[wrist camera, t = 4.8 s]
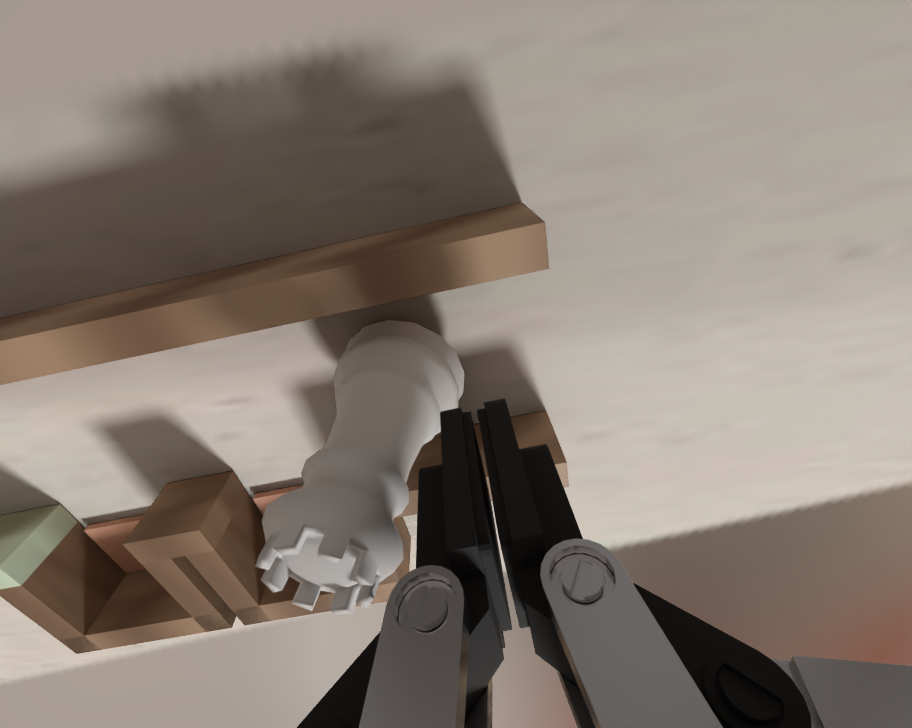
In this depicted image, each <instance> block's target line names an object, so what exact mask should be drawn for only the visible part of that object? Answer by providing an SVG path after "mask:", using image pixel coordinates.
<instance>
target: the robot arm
mask: <svg viewBox="0 0 912 728" xmlns="http://www.w3.org/2000/svg"><path fill="white" fill-rule="evenodd" d="M484 405H485V408H484V409H479V410H477V414H478V419H479V425H480V431H481V437H482V443H483V448H484V454H485V460H486V466H487V472H488V477H489V483H490V489H491V495H492V501H493V506H494V512H495V518H496V524H497V529H498V535H499V540H500V545H501V549H502V554H503V558H504V562H505V566H506V571H507V575H508V579H509V583H510V587H511V592H512V596H513V600H514V605H515V609H516V613H517V617H518V621H519V626H520V628H524V627H530V629H531V634H532V639H533V643H534V648H535V653H536V654H537V655H538V656H540V657H541V658H542V659H544V660H545V661H546V662H547V663H549V664H550V665H551V666H553V667H554V668H555V669H556V670H557V674H558V677H559V679H560V682H561V685H562V687H563V690H564V693H565V695H566V698H567V701H568V704H569V706H570V709H571V711H572V714H573V717H574V720H575V722H576V725H577V727H578V728H912V666H905V665H893V664H882V663H871V662H860V661H848V660H837V659H825V658H814V657H803V656H792V658H791V660H790V661H786V660H776V659H769V658H768V657H766V656H765V655H764V654H762V653H761V652H759V651H757V650H756V649H754V648H752V647H750V646H748V645H746V644H744V643H743V642H741V641H739V640H737V639H735V638H733V637H732V636H730V635H728V634H726V633H724V632H722V631H721V630H718V629H717V628H715V627H713V626H711V625H709V624H708V623H706V622H704V621H702V620H700V619H699V618H697V617H695V616H693V615H691V614H689V613H688V612H686V611H684V610H682V609H680V608H678V607H676V606H675V605H673V604H671V603H669V602H667V601H666V600H664V599H662V598H660V597H658V596H656V595H654V594H653V593H651V592H649V591H647V590H645V589H643V588H642V587H640V586H638V585H636V584H634V583H632V581H631V579H630V578H629V576H628V575H627V573H626V571H625V570H624V568H623V567H622V565H621V563H620V562H619V561H618V559H617V558H616V557H615V556H614V555H613V553H612V552H611V551H609V550H608V549H607V548H605V547H604V546H602V545H601V544H599V543H596V542H593V541H590V540H586V539H583V538H582V535H581V533H580V530H579V527H578V525H577V522H576V519H575V517H574V514H573V511H572V509H571V506H570V503H569V501H568V498H567V495H566V493H565V490H564V487H563V485H562V482H561V479H560V477H559V474H558V471H557V469H556V466H555V463H554V461H553V458H552V455H551V453H550V450H549V448H548V446H547V444H543V445H538V446H532V447H527V448H522V449H519V446H518V443H517V439H516V436H515V432H514V429H513V425H512V422H511V418H510V415H509V411H508V408H507V404H506V401H505V399H500V400H495V401H490V402H485V403H484ZM440 425H441V448H442V464H440V465H435V466H430V467H425V468H420V470H419V477H418V515H417V552H416V569H414V570H412V571H410V572H408V573H407V574H406V575H405V576H404V577H403V578H401V579H400V580H399V581H398V583H397V584H396V585H395V587H394V588H393V590H392V591H391V594H390V596H389V599H388V602H387V605H386V610H385V614H384V618H383V623H382V628H381V631H380V633H379V634H378V635H377V636H376V637H375V638H374V639H373V641H372V642H371V643H370V644H369V645H368V646H367V648H366V649H365V650H364V651H363V652H362V653H361V654H360V656H359V657H358V658H357V659H356V660H355V661H354V662H353V664H352V665H351V666H350V667H349V668H348V669H347V670H346V672H345V673H344V674H343V675H342V676H341V677H340V679H339V680H338V681H337V682H336V683H335V684H334V685H333V687H332V688H331V689H330V690H329V691H328V692H327V693H326V695H325V696H324V697H323V698H322V699H321V700H320V702H319V703H318V704H317V705H316V706H315V707H314V708H313V710H312V711H311V712H310V713H309V714H308V715H307V717H306V718H305V719H304V720H303V721H302V722H301V723H300V724H299V726H298V727H297V728H492V707H493V706H492V705H493V704H492V703H493V698H492V697H493V684H492V677H493V675H494V673H495V672H496V670H497V669H498V667H499V666H500V664H501V663H502V661H503V660H504V656H503V649H502V648H505V642H504V636H503V631H507V630H512V626H511V619H510V613H509V607H508V602H507V595H506V589H505V583H504V577H503V571H502V565H501V559H500V553H499V547H498V541H497V535H496V529H495V523H494V517H493V511H492V506H491V500H490V494H489V489H488V484H487V480H486V476H485V471H484V467H483V463H482V459H481V454H480V450H479V446H478V441H477V437H476V433H475V428H474V424H473V420H472V416H471V412H470V411H469V412H464V413H463V412H462V408H461V407H460V408H455V409H450V410H445V411H441V412H440Z"/></svg>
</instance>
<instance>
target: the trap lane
mask: <svg viewBox="0 0 912 728" xmlns="http://www.w3.org/2000/svg"><path fill="white" fill-rule="evenodd" d="M545 269H549V261H548V250H547V239H546V228H545V222H544V221H543V220H542V219H541V218H540V217H538V216H537V215H536V214H535V213H534V212H533V211H531V210H530V209H529V208H528V207H527V206H526V205H525V204H523V203H518V204H513V205H509V206H504V207H500V208H495V209H491V210H486V211H482V212H477V213H473V214H468V215H464V216H459V217H455V218H450V219H445V220H441V221H436V222H432V223H427V224H423V225H418V226H414V227H409V228H405V229H400V230H396V231H391V232H387V233H382V234H378V235H373V236H369V237H364V238H360V239H355V240H351V241H346V242H342V243H337V244H333V245H328V246H324V247H319V248H315V249H310V250H306V251H301V252H297V253H292V254H288V255H283V256H279V257H274V258H270V259H265V260H261V261H256V262H252V263H247V264H243V265H238V266H234V267H229V268H225V269H220V270H216V271H211V272H207V273H202V274H198V275H193V276H189V277H184V278H180V279H175V280H171V281H166V282H162V283H157V284H153V285H148V286H144V287H139V288H135V289H130V290H126V291H121V292H117V293H112V294H107V295H103V296H98V297H94V298H89V299H85V300H80V301H76V302H71V303H67V304H62V305H58V306H53V307H49V308H44V309H40V310H35V311H31V312H26V313H22V314H17V315H13V316H8V317H4V318H0V385H3V384H7V383H12V382H17V381H21V380H26V379H31V378H36V377H40V376H45V375H50V374H54V373H59V372H64V371H69V370H73V369H78V368H83V367H87V366H92V365H97V364H102V363H106V362H111V361H116V360H121V359H125V358H130V357H135V356H139V355H144V354H149V353H154V352H158V351H163V350H168V349H172V348H177V347H182V346H187V345H191V344H196V343H201V342H205V341H210V340H215V339H220V338H224V337H229V336H234V335H239V334H243V333H248V332H253V331H257V330H262V329H267V328H272V327H276V326H281V325H286V324H290V323H295V322H300V321H305V320H309V319H314V318H319V317H323V316H328V315H333V314H338V313H342V312H347V311H352V310H356V309H361V308H366V307H371V306H375V305H380V304H385V303H390V302H394V301H399V300H404V299H408V298H413V297H418V296H423V295H427V294H432V293H437V292H441V291H446V290H451V289H456V288H460V287H465V286H470V285H474V284H479V283H484V282H489V281H493V280H498V279H503V278H508V277H512V276H517V275H522V274H526V273H531V272H536V271H541V270H545ZM510 418H511V422H512V425H513V429H514V432H515V436H516V439H517V443H518V446H519V449H522V448H527V447H532V446H538V445H543V444H547V446H548V448H549V450H550V453H551V455H552V458H553V461H554V463H555V466H556V469H557V471H558V474H559V477H560V479H561V482H562V485H563V487H569V482H568V471H567V462H566V459H565V457H564V454H563V452H562V449H561V447H560V444H559V442H558V439H557V437H556V434H555V432H554V429H553V427H552V424H551V422H550V419H549V417H548V414H547V412H546V411H541V412H536V413H531V414H526V415H521V416H515V417H510ZM474 428H475V433H476V437H477V441H478V446H479V450H480V454H481V459H482V463H483V467H484V471H485V476H486V480H487V484H488V489H489V494H490V500H492V495H491V489H490V483H489V477H488V472H487V466H486V460H485V454H484V448H483V443H482V437H481V431H480V425H479V424H474ZM440 464H442V448H441V432H440V433H438V434H436V435H435V436H434V437H433V439H432V440H431V441H429V442H427V443H426V444H424V445H423V446H422V447H421V449H420V451H419V453H418V455H417V457H416V459H415V461H414V463H413V465H412V467H411V469H410V472H409V476H408V479H407V482H406V484H407V486H408V488H409V503H408V504H407V506H406V508H405V509H404V511H403V512H402V514H400V515H398V516H396V517H394V520H393V522H394V524H395V527H396V529H397V531H398V533H399V535H400V538H401V540H402V542H403V561H402V562H401V563H400V565H399V566H398V567H397V569H396V570H395V571H394V573H392V574H391V575H390V576H388V577H387V578H385V579H384V580H383V581H381V582H380V583H379V584H378V588H377V591H376V595H375V598H374V600H373V601H372V602H371V604H373V603H379V602H385V601H388V599H389V596H390V594H391V591H392V590H393V588H394V587H395V585H396V584H397V583H398V581H399V580H400V579H401V578H403V577H404V576H405V575H406V574H407V573H408V572H409V564H410V544H411V537H410V534H409V532H408V529H407V527H406V524H405V522H404V519H403V516H408V515H414V514H418V477H419V470H420V468H425V467H430V466H435V465H440ZM302 486H303V485H298V486H293V487H288V488H283V489H277V490H272V491H267V492H261V493H256V494H255V495H254V497H253V500H254V502H255V503H256V505H257V506H258V508H259V509H260V511H261V512H262V514H263V515H264V513H265V510H266V506H267V505H268V504H270V503H271V502H273V501H274V500H276V499H277V498H279V497H280V496H282V495H283V494H286V493H288V492H291V491H293V490H296V489H298V488H301V487H302ZM253 500H252V499H251V497H250V496H249V494H248V493H247V491H246V490H245V488H244V487H243V485H242V484H241V482H240V481H239V479H238V478H237V476H236V474H235V473H234V471H229V472H224V473H219V474H214V475H209V476H203V477H198V478H193V479H188V480H183V481H177V482H172V483H167V484H166V486H165V487H164V488H163V490H162V491H161V493H160V494H159V495H158V497H157V498H156V499H155V501H154V502H153V503H152V505H151V506H150V507H149V509H148V510H147V512H146V513H145V514H144V515H139V516H134V517H128V518H123V519H118V520H113V521H107V522H102V523H97V524H91V525H88V526H87V527H86V528H84V527H83V526H82V525H81V524H80V523H79V522H78V521H77V520H76V519H75V518H74V517H73V516H72V515H71V514H70V513H69V512H68V511H67V510H66V509H65V508H64V507H63V506H62V505H61V504H58V505H52V506H47V507H42V508H37V509H32V510H26V511H21V512H16V513H11V514H6V515H0V596H1V597H2V598H3V599H5V600H6V601H7V602H9V603H10V604H11V605H13V606H14V607H15V608H17V609H18V610H19V611H21V612H22V613H23V614H25V615H26V616H27V617H29V618H30V619H31V620H33V621H34V622H35V623H37V624H38V625H39V626H41V627H42V628H43V629H45V630H46V631H47V632H49V633H50V634H51V635H53V636H54V637H55V638H57V639H58V640H59V641H60V642H62V643H63V644H64V645H66V646H67V647H68V648H70V649H71V650H72V651H74V652H75V653H76V654H78V653H84V652H90V651H96V650H102V649H108V648H114V647H120V646H126V645H132V644H137V643H143V642H149V641H155V640H161V639H167V638H173V637H179V636H185V635H191V634H196V633H202V632H208V631H214V630H220V629H226V628H232V626H233V623H234V621H235V618H236V616H237V617H238V618H239V619H240V620H241V622H242V623H243V624H244V625H250V624H255V623H261V622H267V621H273V620H279V619H285V618H291V617H297V616H303V615H309V614H314V613H320V612H326V611H331V609H330V605H331V603H332V600H333V597H334V595H335V593H331V592H325V591H320V593H319V596H318V598H317V601H316V603H315V606H314V608H313V611H310V610H308V609H305V608H302V607H299V606H297V605H294V604H291V603H292V601H293V599H294V596H295V594H296V592H297V590H298V588H299V585H300V583H299V582H298V581H296V580H294V579H293V578H291V577H290V576H289V578H288V580H287V582H286V584H285V586H284V588H283V590H282V591H278V592H274V593H273V592H272V591H271V590H270V589H269V588H268V587H267V586H266V585H265V584H264V583H263V582H262V581H261V580H260V579H261V578H262V576H263V574H264V572H265V570H266V569H262V568H258V567H255V565H256V563H257V560H258V557H259V554H260V552H261V551H262V549H263V547H264V545H265V544H266V541H265V535H264V530H263V525H262V519H263V516H262V514H261V513H260V511H259V510H258V508H257V507H256V505H255V504H254V502H253ZM356 606H361V605H359V604H357V603H356V605H355V607H356Z"/></svg>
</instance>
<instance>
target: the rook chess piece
mask: <svg viewBox="0 0 912 728" xmlns="http://www.w3.org/2000/svg"><path fill="white" fill-rule="evenodd" d="M333 383H334V389H335V403H336V409H337V414H336V418H335V421H334V423H333V426H332V429H331V432H330V435H329V437H328V439H327V441H326V443H325V445H324V446H323V448H322V450H319V451H318V452H316V453H315V454H314V455H312V456H311V457H310V458H308V459H307V460H306V462H305V465H304V467H303V470H302V473H301V474H302V478H303V482H304V485H303V486H302V487H301V488H298V489H296V490H293V491H291V492H288V493H286V494H283V495H282V496H280V497H279V498H277V499H276V500H274V501H273V502H271V503H270V504H268V505H267V506H266V510H265V513H264V516H263V519H262V525H263V530H264V535H265V541H266V544H265V545H264V547H263V549H262V551H261V552H260V554H259V557H258V560H257V563H256V565H255V567H258V568H262V569H266V570H265V572H264V574H263V576H262V578H261V579H260V580H261V581H262V582H263V583H264V584H265V585H266V586H267V587H268V588H269V589H270V590H271V591H272V592H273V593H274V592H278V591H282V590H283V588H284V586H285V584H286V582H287V580H288V578H289V576H290V577H291V578H293V579H294V580H296V581H298V582H299V583H300V585H299V588H298V590H297V592H296V594H295V596H294V599H293V601H292V603H291V604H294V605H297V606H299V607H302V608H305V609H308V610H310V611H313V608H314V606H315V603H316V601H317V598H318V596H319V593H320V591H325V592H331V593H335V595H334V597H333V600H332V603H331V605H330V609H331V611H332V613H333V615H340V614H353V612H354V608H355V605H356V603H357V604H359V605H361V606H363V607H366V608H368V606H369V605H370V604H371V602H372V601H373V600H374V598H375V595H376V591H377V588H378V584H379V583H380V582H381V581H383V580H384V579H385V578H387V577H388V576H390V575H391V574H392V573H394V571H395V570H396V569H397V567H398V566H399V565H400V563H401V562H402V561H403V542H402V540H401V538H400V535H399V533H398V531H397V529H396V527H395V524H394V522H393V520H394V517H396V516H398V515H400V514H402V512H403V511H404V509H405V508H406V506H407V504H408V503H409V488H408V486H407V484H406V482H407V479H408V476H409V472H410V469H411V467H412V465H413V463H414V461H415V459H416V457H417V455H418V453H419V451H420V449H421V447H422V446H423V445H424V444H426V443H427V442H429V441H431V440H432V439H433V437H434V436H435V435H436V434H438V433H440V432H441V425H440V412H441V411H445V410H450V409H455V408H458V401H459V399H460V397H461V396H462V394H463V388H464V370H463V368H462V366H461V363H460V361H459V358H458V356H457V353H456V352H455V351H454V350H453V349H452V348H451V347H450V346H449V345H448V344H447V343H446V341H445V340H444V339H443V338H442V337H441V336H440V335H439V334H437V333H435V332H433V331H431V330H429V329H426V328H424V327H422V326H420V325H418V324H416V323H413V322H403V321H393V320H386V321H382V322H379V323H375V324H372V325H368V326H365V327H364V328H363V329H361V330H360V331H359V332H358V333H357V334H356V335H355V336H353V337H352V338H351V339H350V340H349V341H348V344H347V347H346V350H345V352H344V353H343V354H342V355H341V357H340V360H339V363H338V365H337V368H336V371H335V374H334V380H333Z"/></svg>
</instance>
